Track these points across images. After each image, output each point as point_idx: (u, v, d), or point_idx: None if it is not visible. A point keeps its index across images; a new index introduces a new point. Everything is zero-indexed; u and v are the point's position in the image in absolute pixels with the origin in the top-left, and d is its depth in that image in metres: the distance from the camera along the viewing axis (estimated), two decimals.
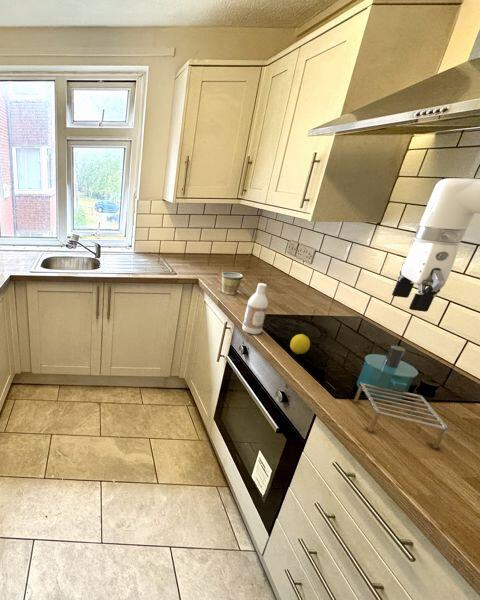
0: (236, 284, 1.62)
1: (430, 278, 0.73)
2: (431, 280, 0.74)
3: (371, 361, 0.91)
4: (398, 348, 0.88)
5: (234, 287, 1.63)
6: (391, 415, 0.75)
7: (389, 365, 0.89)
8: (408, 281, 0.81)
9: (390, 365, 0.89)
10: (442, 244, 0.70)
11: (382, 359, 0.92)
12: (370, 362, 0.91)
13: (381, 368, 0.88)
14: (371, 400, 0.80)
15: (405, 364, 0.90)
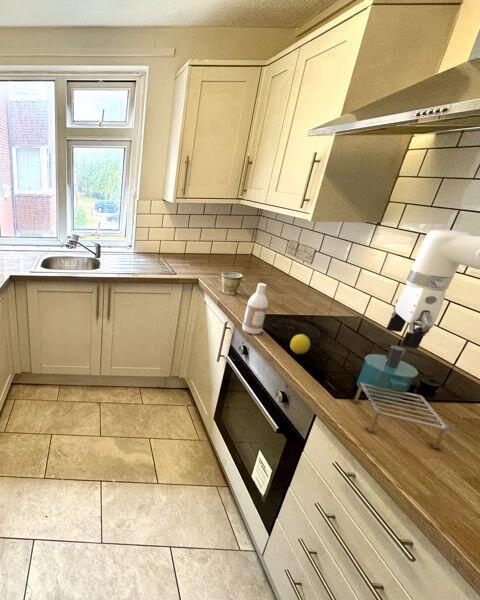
0: (236, 284, 1.62)
1: (420, 318, 0.81)
2: (421, 320, 0.81)
3: (371, 361, 0.91)
4: (398, 348, 0.88)
5: (234, 287, 1.63)
6: (391, 415, 0.75)
7: (389, 365, 0.89)
8: (401, 317, 0.89)
9: (390, 365, 0.89)
10: (431, 289, 0.77)
11: (382, 359, 0.92)
12: (370, 362, 0.91)
13: (381, 368, 0.88)
14: (371, 400, 0.80)
15: (405, 364, 0.90)
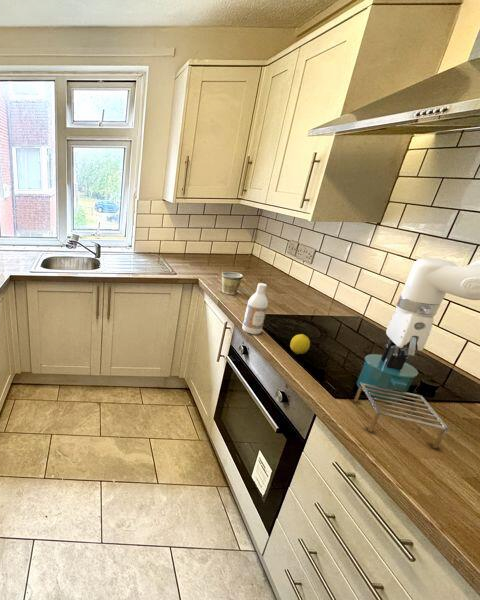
0: (236, 284, 1.62)
1: None
2: None
3: (371, 361, 0.91)
4: None
5: (234, 287, 1.63)
6: (391, 415, 0.75)
7: None
8: None
9: None
10: (420, 316, 0.80)
11: None
12: (370, 362, 0.91)
13: (381, 368, 0.88)
14: (371, 400, 0.80)
15: (405, 364, 0.90)
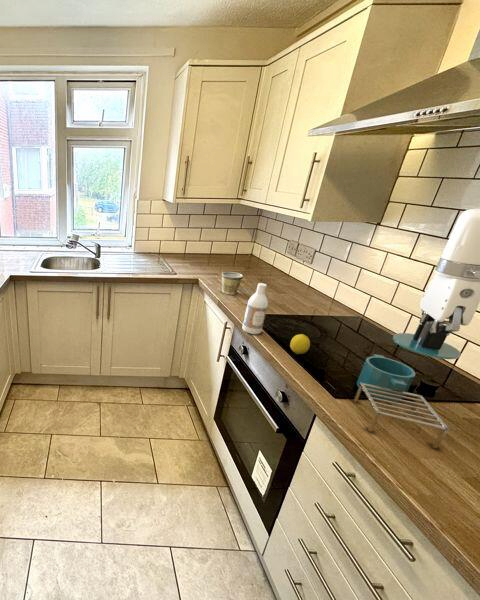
0: (236, 284, 1.62)
1: None
2: None
3: (401, 340, 0.76)
4: None
5: (234, 287, 1.63)
6: (391, 415, 0.75)
7: None
8: None
9: None
10: (467, 280, 0.64)
11: None
12: (400, 341, 0.75)
13: (415, 348, 0.72)
14: (371, 400, 0.80)
15: (443, 344, 0.74)
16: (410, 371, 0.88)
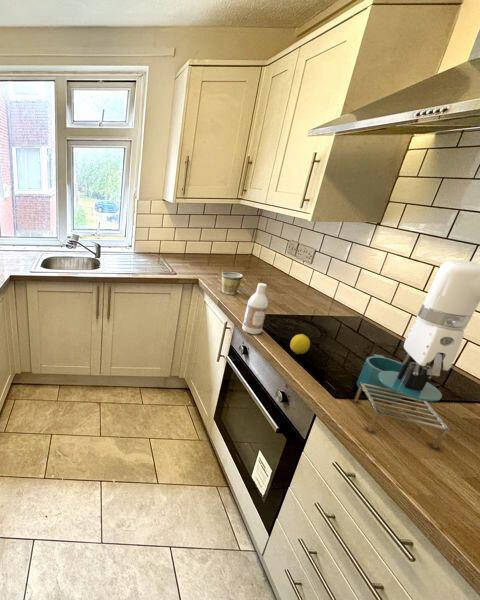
0: (236, 284, 1.62)
1: None
2: None
3: (385, 379, 0.78)
4: None
5: (234, 287, 1.63)
6: (391, 415, 0.75)
7: None
8: None
9: None
10: (447, 329, 0.67)
11: None
12: (385, 381, 0.78)
13: (398, 389, 0.75)
14: (371, 400, 0.80)
15: (426, 384, 0.77)
16: None
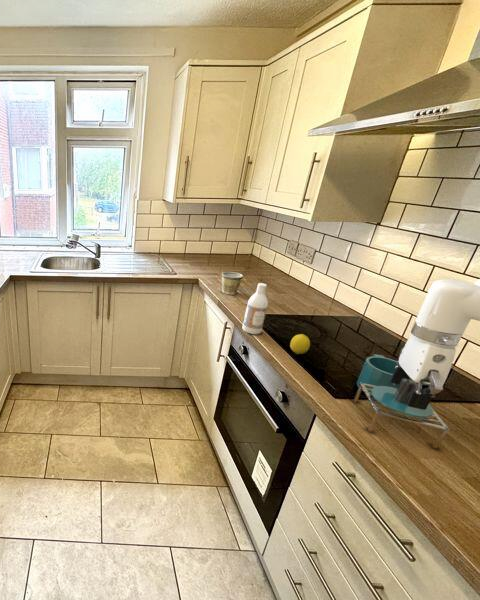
0: (236, 284, 1.62)
1: (428, 377, 0.72)
2: (429, 378, 0.72)
3: (379, 395, 0.80)
4: (410, 382, 0.76)
5: (234, 287, 1.63)
6: (391, 415, 0.75)
7: (400, 401, 0.78)
8: None
9: (401, 401, 0.78)
10: (439, 347, 0.69)
11: (391, 393, 0.81)
12: (378, 397, 0.80)
13: (391, 405, 0.77)
14: (371, 400, 0.80)
15: None
16: None
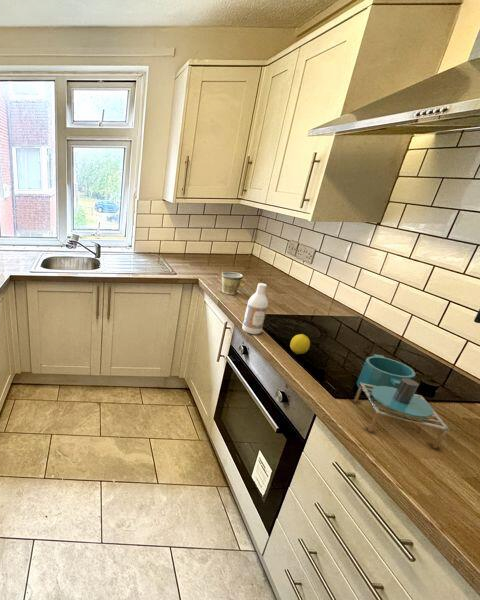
0: (236, 284, 1.62)
1: None
2: None
3: (379, 395, 0.80)
4: (410, 382, 0.76)
5: (234, 287, 1.63)
6: (391, 415, 0.75)
7: (400, 401, 0.78)
8: None
9: (401, 401, 0.78)
10: None
11: (391, 393, 0.81)
12: (378, 397, 0.80)
13: (391, 405, 0.77)
14: (371, 400, 0.80)
15: (418, 399, 0.79)
16: (410, 371, 0.88)
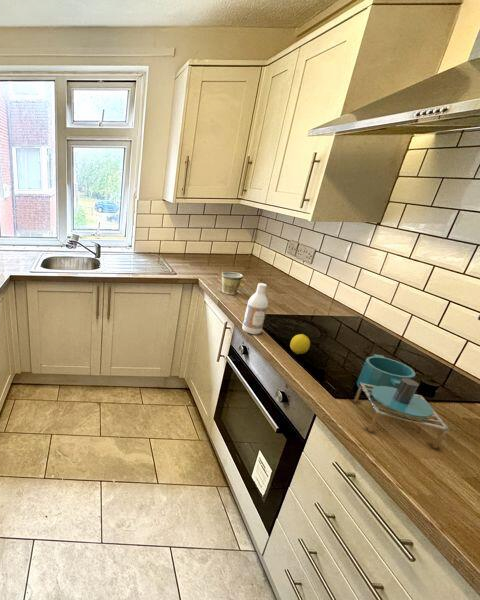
0: (236, 284, 1.62)
1: None
2: None
3: (379, 395, 0.80)
4: (410, 382, 0.76)
5: (234, 287, 1.63)
6: (391, 415, 0.75)
7: (400, 401, 0.78)
8: None
9: (401, 401, 0.78)
10: None
11: (391, 393, 0.81)
12: (378, 397, 0.80)
13: (391, 405, 0.77)
14: (371, 400, 0.80)
15: (418, 399, 0.79)
16: (410, 371, 0.88)
